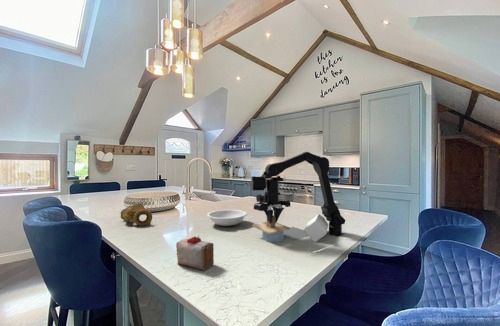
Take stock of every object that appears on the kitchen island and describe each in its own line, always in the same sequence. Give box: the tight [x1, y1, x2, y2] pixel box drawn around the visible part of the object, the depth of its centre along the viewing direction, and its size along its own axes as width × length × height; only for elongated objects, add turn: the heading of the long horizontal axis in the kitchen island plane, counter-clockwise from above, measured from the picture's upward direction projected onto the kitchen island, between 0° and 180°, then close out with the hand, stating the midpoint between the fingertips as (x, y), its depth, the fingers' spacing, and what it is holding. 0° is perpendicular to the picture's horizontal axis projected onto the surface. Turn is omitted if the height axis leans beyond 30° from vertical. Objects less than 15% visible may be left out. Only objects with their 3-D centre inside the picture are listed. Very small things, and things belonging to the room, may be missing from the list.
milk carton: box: [303, 213, 329, 243], centre depth 110 cm, size 7×7×19 cm
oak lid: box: [251, 215, 291, 234], centre depth 108 cm, size 13×13×6 cm
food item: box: [175, 235, 215, 271], centre depth 81 cm, size 14×8×10 cm, turn 63°
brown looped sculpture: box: [120, 203, 153, 227], centre depth 140 cm, size 18×13×22 cm
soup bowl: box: [206, 209, 248, 227], centre depth 134 cm, size 24×24×7 cm
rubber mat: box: [284, 226, 309, 241], centre depth 115 cm, size 16×16×1 cm
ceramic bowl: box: [261, 230, 285, 243], centre depth 107 cm, size 10×10×5 cm
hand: (272, 222), depth 107 cm, fingers closed on oak lid, 3 cm apart
